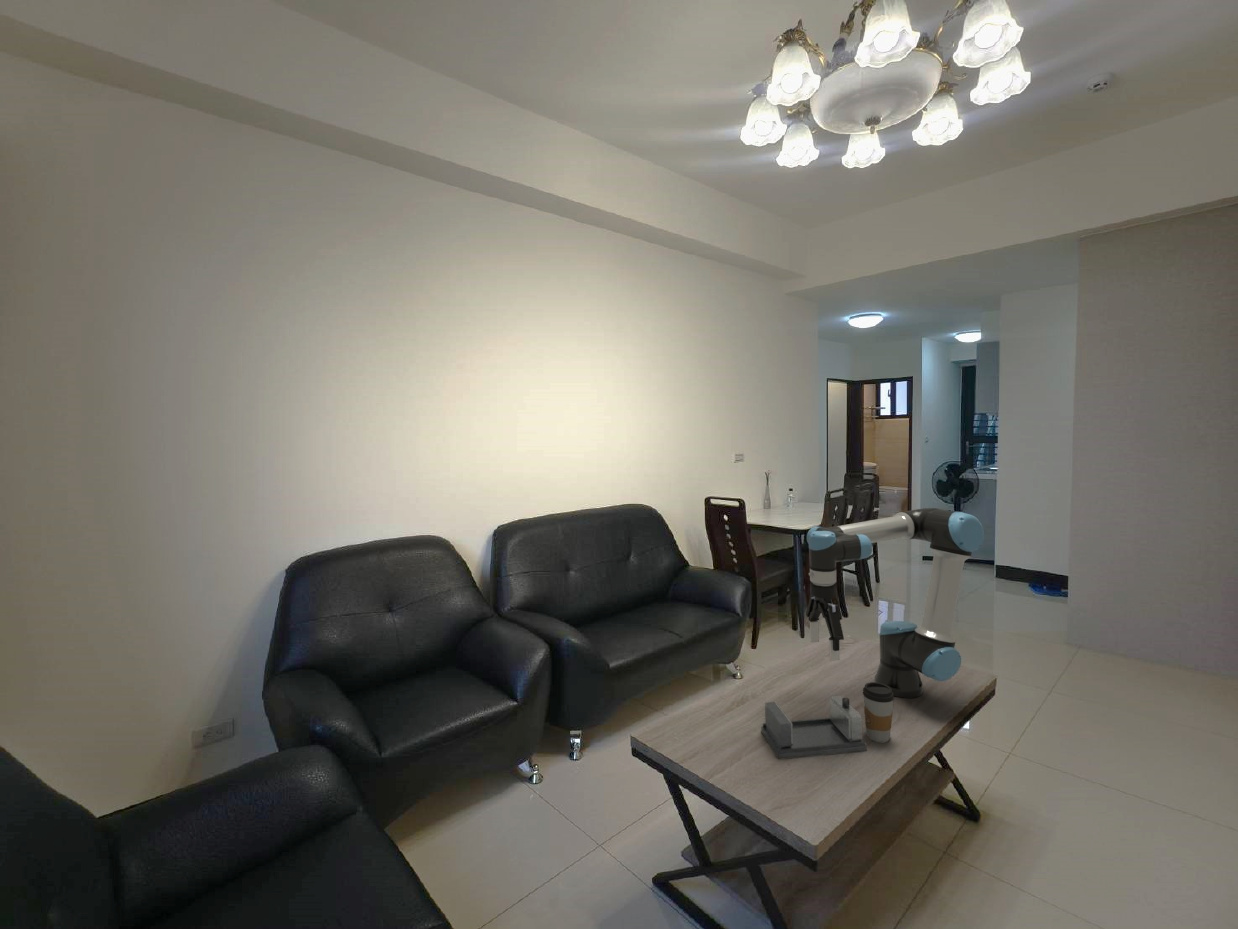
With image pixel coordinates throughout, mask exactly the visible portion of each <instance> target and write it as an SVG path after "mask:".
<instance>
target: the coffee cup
mask: <svg viewBox="0 0 1238 929" xmlns="http://www.w3.org/2000/svg"><path fill="white" fill-rule="evenodd" d="M862 695H863V705H864V706H863V710H864V721H865V722H864V724H865V733H866V735H867V737H868V739H870V740H872V741H874V742H876V743H886V742H888V741H889V740H890V739H891V729H892V721H893V706H894V704H893V702H894V699H895V698H894V696H893V692H892V689H891V688H890V687H889V686H887V685H885V684H882V683H877V682H875V681H873V682H866V683H865V684H864V686H863V689H862Z"/></svg>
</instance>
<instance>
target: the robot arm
mask: <svg viewBox="0 0 1238 929" xmlns="http://www.w3.org/2000/svg"><path fill="white" fill-rule="evenodd" d="M896 539H901V540H903V541H908V540H919V541H925V542H929V543H930V544H929V545H930V546H929V550H930V551H931V552H932V554H933V558H932V563H931V564H932V565H931V570H930V575H929V581H928V584H927V591H926V596H925V602H924V608H923V613H922V618H921V619H922V620H921V624H920V626H919V627H918V626H917V624H915V623H914V622H909V621H903V620H890V621H885V622H883V623H881V625H880V630H879V665H878V668H877V670H876V672H875V675H874V682H877V683H882V684H885V685H887V686H889V687H890V688H891V689H892V692H893V697H894V696H895V697H898V698H917V697H920V696H921V695H922V694H923V693H924V685H923V681H922V679H921V675H920V674H922V675H923V676H925V677H927V678H930V679H932V680H934V681H937V682H944V681H948V680H950V679H952V677H955V675H956V674H957V673H958V671H959V670H960V669H961V665H962V655H960V652H959V651H958V650H957V649H956V648H955V647H956V639H955V637H954V636H953V635H952V631H953V627H954V626H953V625H954V620H955V616H956V611H957V610H956V608H957V604H958V597H959V592H960V588H961V587H960V586H961V584H962V583H961V582H962V575H963V571H964V566H965V562H966V560H968V559H970V558H972V554H973V552H976V551H977V550H979V549H980V547H981V546H982V545H983V543H984V540H985V531H984V526H983V524H982V523H981V521H980V520H979V519H978V518H977V517H976V516H974V515H973V514H969V513H966V512H962V511H955V510H948V509H943V508H942V509H941V508H935V507H925V508H924V507H923V508H916V509H911V510H906V511H901V512H897V513H895V514H894V515H893V516H889V517H888V516H887V517H883V518H876V519H871V520H864V521H861V522H854V523H849V524H843V525H836V526H830V527H824V526H814V527H811V528H810V529H809V530H808V531H807V534H806V542H807V544H808V552H809V554H808V555H809V556H808V558H809V572H808V576H809V581H810V583H809V600H808V605H807V608H806V613H805V616H806V618H808V621H809V642H810V643H820V622H819V621H820V616H822V618H824V620H825V623H826V627H827V629H828V630H827V631H828V633H829V638H828V640H829V641H828V642H829V646H828V647H829V648H828V649H829V650H828V651H829V662H835V661H837V662H838V661H840V658H841V657H840V654H841V652H840V650H841V648H840V641H842V640H843V641H844V640H845V637H844V633H843V627H842V622H841V619H840V615H839V606H838V604H833V598H836V597H837V563H839V562H841V563H842V562H848V561H860V560H863V559H868V558H870V556H871V554H872V552H873V544H875V543H880V542H885V541H890V540H891V541H892V540H896Z"/></svg>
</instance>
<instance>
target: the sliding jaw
mask: <svg viewBox="0 0 1238 929" xmlns="http://www.w3.org/2000/svg"><path fill="white" fill-rule="evenodd" d="M850 700H851V699H850V698H848V697H843V696H842V695H832V696H830V699H829V718H830V720H831V722H832V723H833V724H834V725H835V726H836V727H837V728H838V729H839V730H840V732H841V733H842V734H843V735H844V736H845V737H846V738H847V739H848V740H849V741H850V742H860V741H863V735H862V734H863V728H862V727H863V723H862V721H863V719H862V718H863V716H862V715H861V714H860V713H859V712H858V711H857V709H856V708H854V707H853V706H852V705H851V704H850Z"/></svg>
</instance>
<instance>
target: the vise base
mask: <svg viewBox="0 0 1238 929" xmlns="http://www.w3.org/2000/svg"><path fill="white" fill-rule="evenodd" d="M764 711H765V712H764V717H765V718H764V720H765V721H764V722H765V723H762V726H760V732H761V733H762V735H763V737H764V738H765V739H766V741H767V743H768V744H769V745H770V748H771V749H772V750H773V752H774V753H775V755H776V756H777V758H778V760H782V759H783V760H784V759H795V758H802V757H803V758H804V757H815V756H817V757H818V756H826V755H836V754H847V753H857V752H859V753H860V752H867V751H868V745H867V744H866V741H864V740H862V741H860V742H850V741H849V740H848V739H847V738H846V737H845V736H844V735H843V734H842V733H841V732H840V730H839V729H838V728H837V727H836V726H835V725H834V724H833V723H832V722H831V720H830V717H823V718H822V717H821V718H812V719H800V720H799V719H798V720H790V719H789V718H788V716H787V715H786V714H785V713H784V711H783V710H782V708H780V706H779V705H778V704H777V703H776V702H775V701H772V702H770V701H768V702H765V703H764Z"/></svg>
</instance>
